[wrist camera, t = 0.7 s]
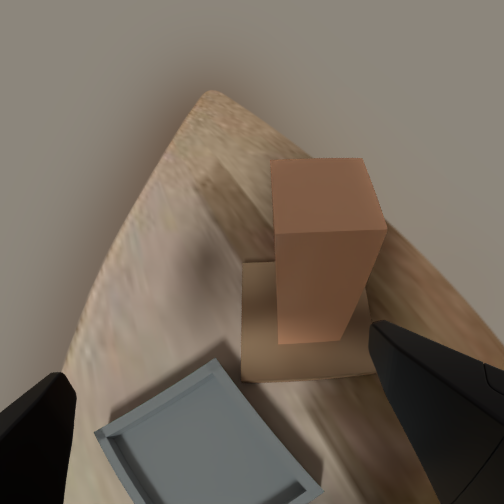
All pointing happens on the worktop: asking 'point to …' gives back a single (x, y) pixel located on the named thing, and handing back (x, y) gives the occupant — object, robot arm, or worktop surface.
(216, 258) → the worktop surface
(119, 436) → the tray
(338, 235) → the tan rectangular prism
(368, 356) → the peg on square base
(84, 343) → the worktop surface
